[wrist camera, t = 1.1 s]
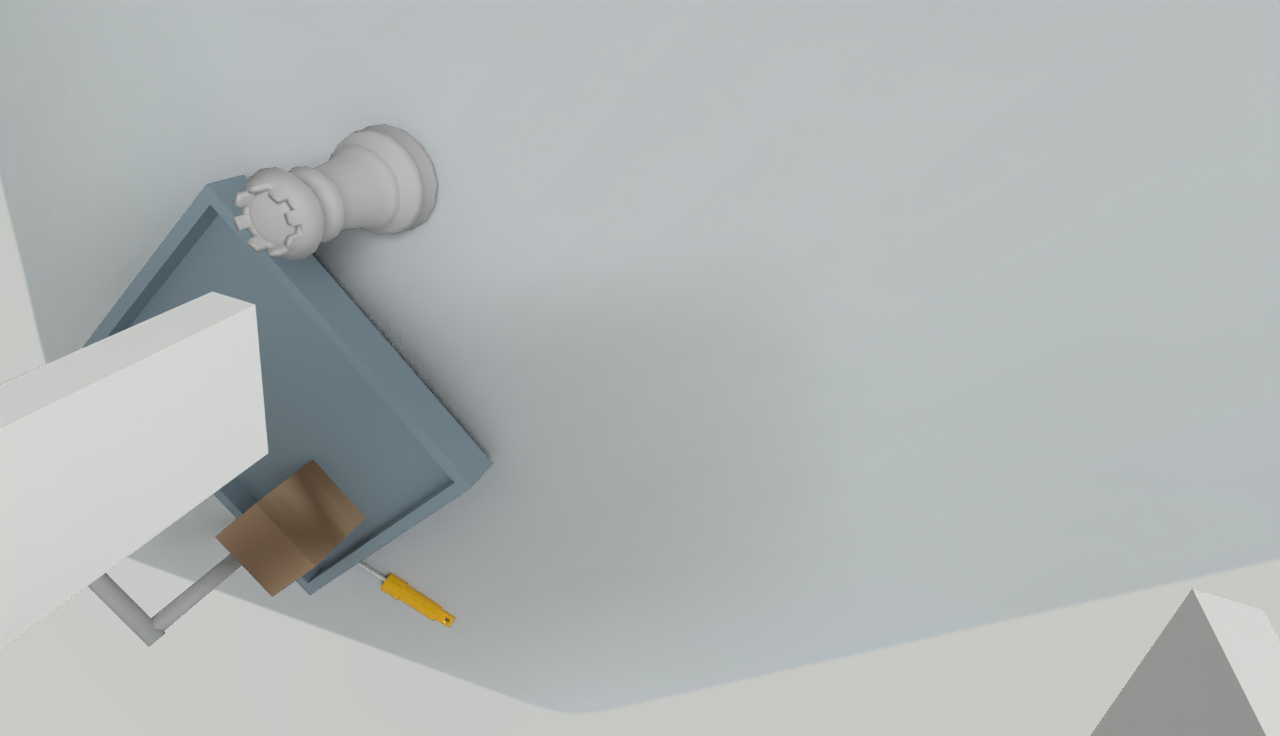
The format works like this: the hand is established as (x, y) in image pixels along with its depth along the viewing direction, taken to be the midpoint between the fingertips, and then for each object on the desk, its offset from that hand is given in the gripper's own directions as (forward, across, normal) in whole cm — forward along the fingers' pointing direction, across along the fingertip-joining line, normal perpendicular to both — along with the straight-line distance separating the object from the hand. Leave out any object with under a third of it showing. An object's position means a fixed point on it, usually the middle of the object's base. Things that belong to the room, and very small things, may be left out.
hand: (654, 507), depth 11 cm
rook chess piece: (+20, -17, -3) cm, 27 cm away
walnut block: (+18, -20, -21) cm, 34 cm away
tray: (+20, -22, -16) cm, 33 cm away
